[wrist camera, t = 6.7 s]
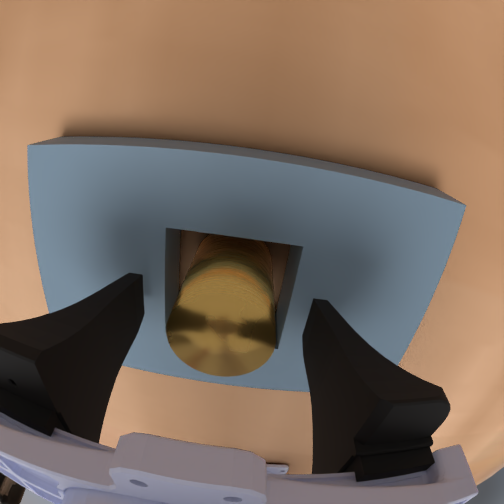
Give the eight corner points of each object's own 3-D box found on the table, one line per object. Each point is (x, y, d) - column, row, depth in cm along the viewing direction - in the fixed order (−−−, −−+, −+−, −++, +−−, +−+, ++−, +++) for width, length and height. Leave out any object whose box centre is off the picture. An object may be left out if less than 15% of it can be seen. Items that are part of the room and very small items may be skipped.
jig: (369, 360, 19) (381, 392, 16) (78, 319, 18) (59, 347, 16) (435, 188, 14) (466, 205, 11) (61, 136, 13) (27, 145, 11)
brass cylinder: (265, 300, 17) (265, 381, 12) (193, 290, 17) (167, 367, 12) (277, 233, 16) (286, 302, 10) (198, 222, 15) (165, 285, 10)
